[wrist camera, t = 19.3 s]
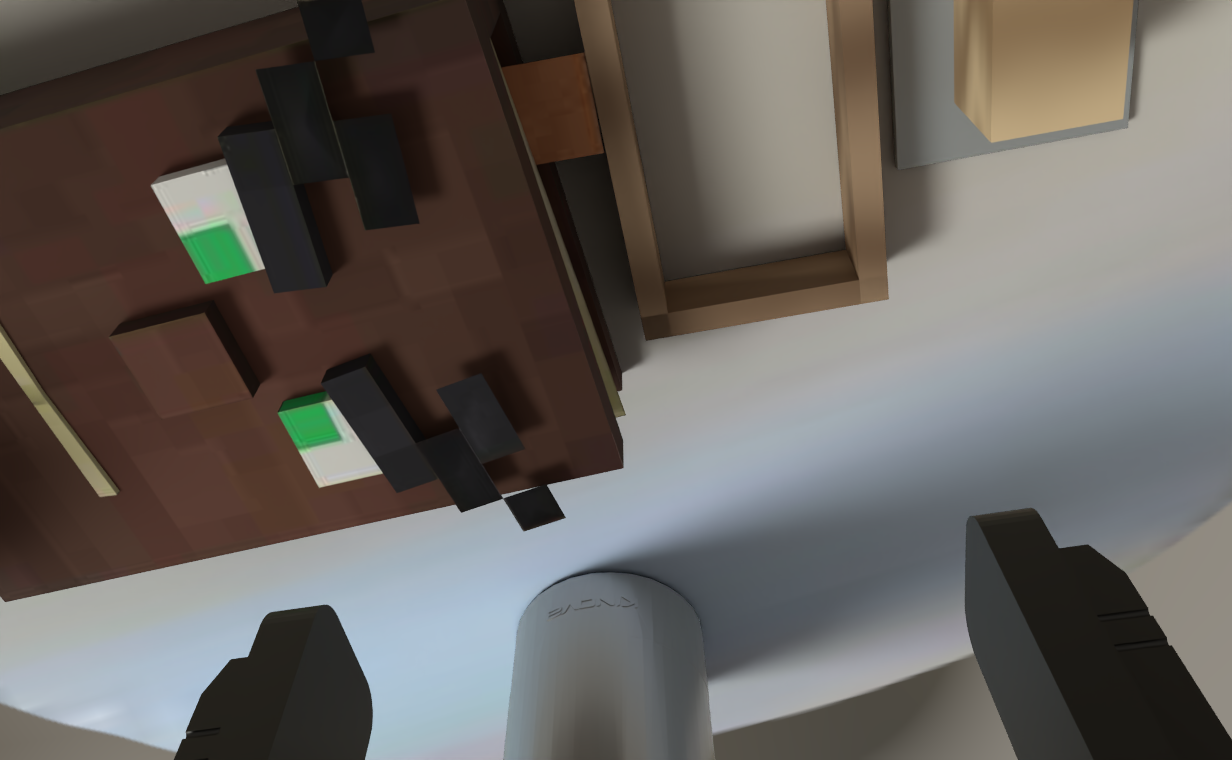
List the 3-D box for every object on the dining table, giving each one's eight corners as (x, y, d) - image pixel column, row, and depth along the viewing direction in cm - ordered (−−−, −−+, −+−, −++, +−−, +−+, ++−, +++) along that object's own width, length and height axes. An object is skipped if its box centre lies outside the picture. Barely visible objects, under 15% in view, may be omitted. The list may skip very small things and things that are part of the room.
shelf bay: (873, 268, 38) (888, 299, 36) (643, 308, 39) (645, 340, 37) (841, -242, 29) (859, -240, 27) (543, -174, 30) (538, -167, 28)
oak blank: (1072, 80, 34) (1123, 118, 31) (954, 102, 35) (991, 142, 31) (1085, -145, 30) (1145, -130, 27) (952, -118, 31) (994, -99, 27)
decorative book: (-438, 215, 29) (531, -74, 25) (-252, 130, 36) (547, -113, 32) (-41, 650, 40) (697, 494, 35) (49, 523, 46) (684, 379, 42)
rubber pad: (1123, 124, 35) (1127, 127, 35) (895, 166, 36) (897, 170, 36) (1148, -195, 30) (1154, -194, 30) (881, -137, 31) (883, -135, 31)
